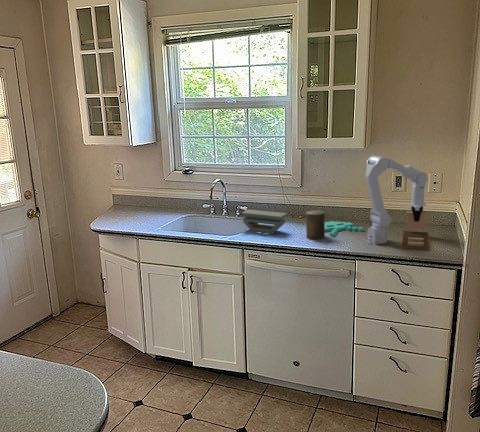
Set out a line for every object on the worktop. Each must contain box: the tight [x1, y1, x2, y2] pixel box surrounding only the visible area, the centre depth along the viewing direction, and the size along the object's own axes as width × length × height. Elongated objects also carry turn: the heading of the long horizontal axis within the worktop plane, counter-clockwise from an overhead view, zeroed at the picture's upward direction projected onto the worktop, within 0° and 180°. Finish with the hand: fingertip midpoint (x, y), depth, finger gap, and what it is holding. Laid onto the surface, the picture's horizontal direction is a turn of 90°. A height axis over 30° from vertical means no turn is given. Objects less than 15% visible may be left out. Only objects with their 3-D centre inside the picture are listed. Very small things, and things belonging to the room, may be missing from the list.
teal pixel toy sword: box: [325, 220, 364, 238], centre depth 251 cm, size 20×2×20 cm
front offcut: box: [408, 242, 424, 246], centre depth 214 cm, size 2×7×3 cm, turn 69°
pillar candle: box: [305, 209, 326, 240], centre depth 238 cm, size 10×10×15 cm
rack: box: [400, 230, 431, 252], centre depth 222 cm, size 26×13×3 cm, turn 159°
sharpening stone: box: [240, 209, 288, 235], centre depth 253 cm, size 25×8×11 cm, turn 60°
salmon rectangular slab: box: [406, 211, 427, 230], centre depth 229 cm, size 2×9×8 cm, turn 69°
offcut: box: [408, 237, 423, 242], centre depth 219 cm, size 2×7×3 cm, turn 69°
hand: (416, 220), depth 229 cm, fingers closed on salmon rectangular slab, 2 cm apart
